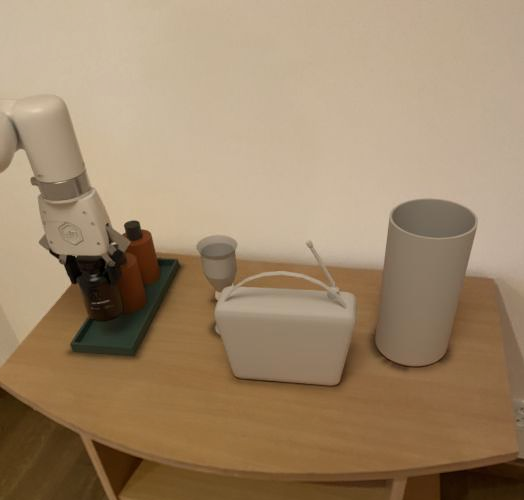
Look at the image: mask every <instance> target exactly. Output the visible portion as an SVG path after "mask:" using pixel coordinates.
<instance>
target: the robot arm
mask: <svg viewBox="0 0 524 500" xmlns="http://www.w3.org/2000/svg"><path fill="white" fill-rule="evenodd" d="M72 121H73V120H72V117H71V114H70V111H69V109H68V106H67V104H66V102H65V100H64V99H63V98H61V97H60V96H58V95H56V94H50V93H49V94H48V93H45V94H35V95H30V96H25V97H24V98H0V174H2V173H3V172H5V171H6V170H7V169H8V168H9V167H10V165H11V163H12V161H13V159H14V156H15V154H16V153H17V152H18V151H19V150H23V151H24V153H25V154H26V157H27V160H28V162H29V165H30V168H31V170H32V173H33V175H34V176H31V177H30V185H32V186H35V187H37V188H38V190H39V192H40V193H39V195H38V196H37V202H38V204H37V205H38V210H39V216H40V220H41V224H42V227H43V228H42V229H43V231H44V234H43V235H42V236H41V238H40V239H39V240H38V244H39V245H40V246H42V248H44V249H45V250H46V251H48V253H49V254H50V255H51V256H53V257H54V258H55V259H57V260H58V262H59V264H60V265H61V266H63V267H64V270H65V271H66V275H67V277H68V278H69V280H70V283H71V284H72V285H77V282H76V273H77V271H78V267H77V263H76V257H77V256H102V258H103V259H104V260H105V261H106V262H107V264H108V265H107V266H106V269H107V273H108V276H109V279H110V282H111V285H112V286H116V285H117V283H118V282H119V280H120V279H121V277H122V271H121V267H120V264H119V259H120V258H121V256H122V255H123V253H124V252H125V250H126V249H127V247H128V246H129V244H130V240H128V239H127V238H126V237H124V236H123V235H122V234H121V233H120V232H118V231H117V230H116V229H114V227H113V225H112V222H111V219H110V216H109V213H108V212H107V209H106V206H105V204H104V202H103V200H102V197H101V196H100V194H99V193H98V191H97V189H96V188H95V187H92V184H91V180H90V178H89V174H88V172H87V168H86V165H85V161H84V158H83V155H82V152H81V148H80V144H79V141H78V138H77V134H76V131H75V128H74V124H73V122H72ZM113 243H114V244H118V249H117V250H116V249H115V248H114V246H113ZM107 251H108V252H109V253H110V254H111V255H110V254H109V253H108V252H107Z"/></svg>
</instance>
